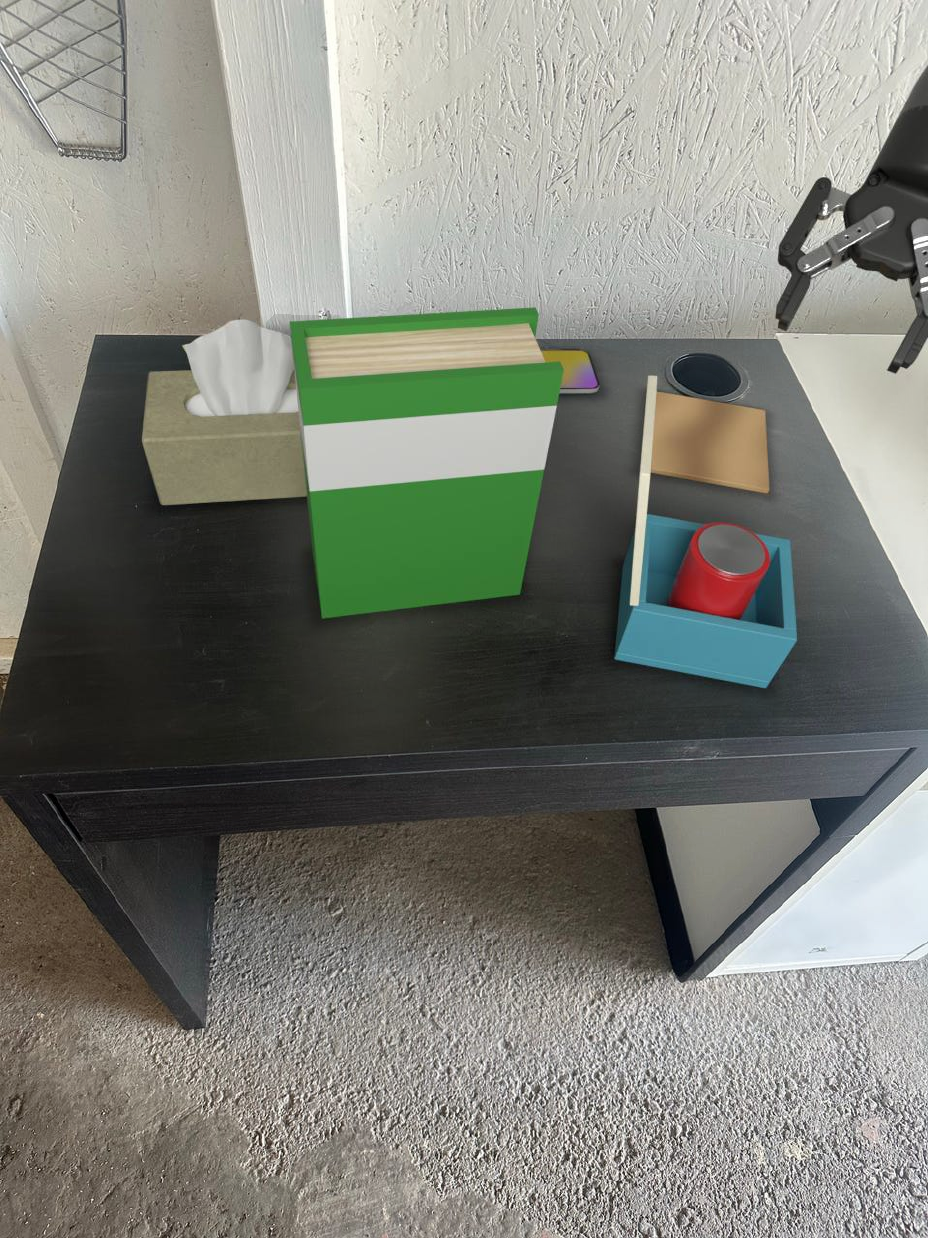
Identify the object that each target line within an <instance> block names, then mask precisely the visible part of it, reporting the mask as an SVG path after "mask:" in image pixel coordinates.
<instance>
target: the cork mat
mask: <svg viewBox="0 0 928 1238" xmlns="http://www.w3.org/2000/svg"><path fill="white" fill-rule="evenodd" d="M766 417H767V415H766V410H765V409H760V408H755V407H749V406H743V405H737V404H731V403H726V402H719V401H715V400H709V399H703V398H697V397H691V396H687V395H680V394H676V393H675V394H674V393H669V392H663V391H656V405H655V419H654V433H653V446H652V460H651V474H656V475H662V476H668V477H673V478H679V479H685V480H690V481H695V482H701V483H705V484H712V485H717V486H722V487H728V488H729V487H730V488H732V489H733V488H734V489H739V490H746V491H749V492H750V491H751V492H756V493H761V494H768V493H769V492H770V476H769V475H770V473H769V455H768V436H767V419H766Z"/></svg>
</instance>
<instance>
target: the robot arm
mask: <svg viewBox="0 0 928 1238" xmlns="http://www.w3.org/2000/svg"><path fill="white" fill-rule="evenodd" d="M832 185H833V183H832V180H831V178H829V177H827V176H822V177H819V178H817V179H816V180H815V182H814V183H813V185H812V187H811V188H810V190H809V192H808V194H807V196H806V197H805V199H804V201H803V203H802V204H801V206H800V208H799V209H798V212H797V213H796V215H795V217H794V218H793V220H792V222H791V223H790V225H789V227H788V229H787V231H786V232H785V234H784V236H783V237H782V239H781V241H780V242H779V245H778V251H777V252H778V253H777V263H778V265H780V266H781V267H784V268H785V269H787V270H788V271H789V272H790V275H791V276H790V278H789V280H788V282H787V284H786V286H785V288H784V290H783V291H782V294H781V296H780V298H779V300H778V301H777V304H776V308H775V316H774V317H775V318H774V319H775V320H778V322H777V329H779V330H782V331H784V332H787V331H788V330H789V328H790V326H791V324H792V322H793V320H794V318H795V316H796V314H797V312H798V310H799V308H800V307H801V304H802V302H803V300H804V298H805V296H806V295H807V293H808V291H809V289H810V286H811V283H812V280H813V279H815V278H817V277H819V276H820V275H822V274H824V273H826V272H828V271H831V270H834V269H836V268H838V267H841V266H842V265H843V264H845V263H847V262H849V261H852V262H853V263H854V264H855V265H856V266H855V267H856V268H857V269H860V270H863V271H867V272H868V271H869V272H877V273H879V274H880V275H882V276H883V277H885V278H886V279H888V280H892V281H894V282H898V280H908V285H909V290H910V295H911V299H912V300H913V302H914V307H915V312H916V316H915V318H914V320H913V321H912V322H911V324H910V326H909V328H908V329H907V332H906V333H905V336H904V337H903V339H902V341H901V343H900V344H899V347H898V349H897V350H896V352H895V354H894V356H893V358H892V360H891V361H890V363H889V365H888V367H887V369H886V371H887V372H890V373H893V374H895V375H896V374H897V373H898V372H899V370H900V369H901V368H903V369H905V370H907V369H909V368H910V367H911V366H912V365H913V364H914V363H915V361H916V360H917V358H918V356H919V355H920V353H921V352H922V350H923V347H924V345H925V344H926V342H927V340H928V64H927V65H926V67H925V68H924V70H923V71H922V73H921V74H920V75H919V76H918V79H917V80H916V82H915V83H914V85H913V87H912V89H911V91H910V93H909V95H908V97H907V99H906V101H904V104H903V107H902V108H901V110H900V112H899V114H898V117H897V118H896V119H895V122H894V124H893V126H892V128H891V129H890V131H889V133H888V135H887V138H886V139H885V140H884V143H883V145H882V147H881V149H880V151H879V153H878V155H877V157H876V159H875V161H874V162H873V165H872V167H871V168H870V171H869V173H868V175H867V177H866V179H865V181H864V182H863V184H862V185H861V186H860V187H859V188H858V189H857V190H855V191H854V192H853V193H852V194H850V193H848V192H845V191H843V190H841V189H839V188H837V187H833V186H832ZM837 212H842V217H843V224H844V229H843V230H842V231H840V232H839V233H837V234H835V235H833V236H832V237H830V238H829V239H827V240H826V241H825V242H824V243H823V244H822V245H820V246H818V247H816V248H815V249H813V250H811V251H809V252H808V253H805V252H804V251H803V250H802V248H803V246H804V244H805V242H806V241H807V239H808V237H809V235H810V234H811V232H812V230H813V228H814V227H815V225H816V224H817V222H818V221H826V220H828V219H829V218H831V216H832V215H833V214H834V213H837Z"/></svg>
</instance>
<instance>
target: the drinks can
mask: <svg viewBox="0 0 928 1238" xmlns="http://www.w3.org/2000/svg"><path fill="white" fill-rule="evenodd" d="M754 533H755V532H752V531H751V530H749V529H747V528H746V527H743V526H741V525H738V524H735V523H730V522H711V523H707V524H705V526H703V527H701V528H700V529H698V530H697V531H696V532H695V533H694V535H693V537H692V539H691V541H690V544H689V546H688V549H687V551H686V553H685V556H684V558H683V561H682V563H681V566H680V568H679V570H678V573H677V575H676V578H675V580H674V582H673V585H672V587H671V590H670V592H669V594H668V597H667V599H666V602H665V604H664V606H668V607H673V608H678V609H684V610H689V611H694V612H700V613H705V614H710V615H716V616H721V617H726V618H732V619H737V620H740V619H741V618H742V616H743V614H744V612H745V610H746V608H747V607H748V605H749V603H750V601H751V599H752V597H753V595H754V594H755V592H756V590H757V588H758V586H759V584H760V582H761V581H762V579H763V577H764V575H765V573H766V571H767V569H768V567H769V564H770V555H769V552H768V549H767V547H766V546H765V544H764V543H763V541H762V540H761V539H760V538H759V537H758V536H757V535H755V534H756V533H755V534H754Z"/></svg>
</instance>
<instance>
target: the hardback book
mask: <svg viewBox="0 0 928 1238" xmlns="http://www.w3.org/2000/svg"><path fill="white" fill-rule="evenodd" d="M539 317H540V314H539V311H538V310H537V307H518V308H517V307H516V308H500V309H485V310H467V311H465V310H463V311H448V312H432V313H431V312H430V313H413V314H397V315H380V316H379V315H378V316H362V317H361V316H359V317H345V318H328V319H327V318H326V319H309V320H308V319H307V320H293V321H292V320H291V321H289V328H290V329H289V330H290V337H291V341H292V351H293V361H294V371H295V381H296V391H297V401H298V411H299V421H300V431H301V441H302V451H303V461H304V471H305V481H306V491H307V496H306V500H307V509H308V510H307V511H308V521H309V531H310V539H311V549H312V559H313V565H314V572H315V579H316V587H317V593H318V600H319V608H320V614H321V619H322V620H323V619H329V618H339V617H345V616H356V615H362V614H363V615H364V614H371V613H378V612H388V611H395V610H396V611H397V610H404V609H412V608H421V607H429V606H437V605H445V604H455V603H461V602H471V601H477V600H487V599H495V598H502V597H511V596H519V595H521V592H522V591H521V590H522V585H523V580H524V577H525V576H524V574H525V570H526V565H527V561H528V555H529V550H530V545H531V540H532V534H533V529H534V524H535V519H536V514H537V509H538V505H539V499H540V493H541V489H542V484H543V478H544V473H545V468H546V463H547V459H548V453H549V448H550V442H551V437H552V432H553V427H554V422H555V417H556V412H557V407H558V402H559V397H560V393H559V392H560V387H561V382H562V377H563V372H564V369H563V367H562V364H561V362H545V360H544V357H543V355H542V353H541V350H540V349H541V348H540V346H539V343H538V341H537V339H536V336H537V330H538V329H537V328H538V325H539V324H538V322H539Z"/></svg>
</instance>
